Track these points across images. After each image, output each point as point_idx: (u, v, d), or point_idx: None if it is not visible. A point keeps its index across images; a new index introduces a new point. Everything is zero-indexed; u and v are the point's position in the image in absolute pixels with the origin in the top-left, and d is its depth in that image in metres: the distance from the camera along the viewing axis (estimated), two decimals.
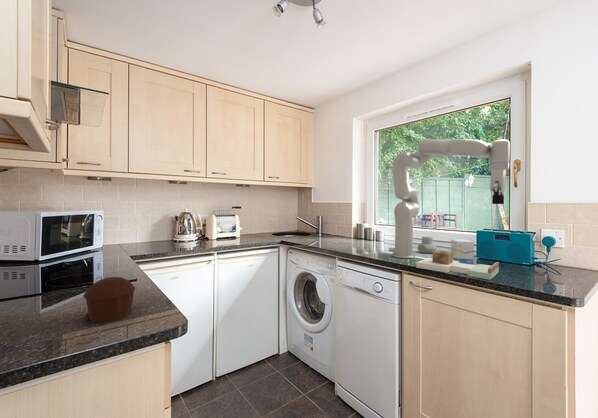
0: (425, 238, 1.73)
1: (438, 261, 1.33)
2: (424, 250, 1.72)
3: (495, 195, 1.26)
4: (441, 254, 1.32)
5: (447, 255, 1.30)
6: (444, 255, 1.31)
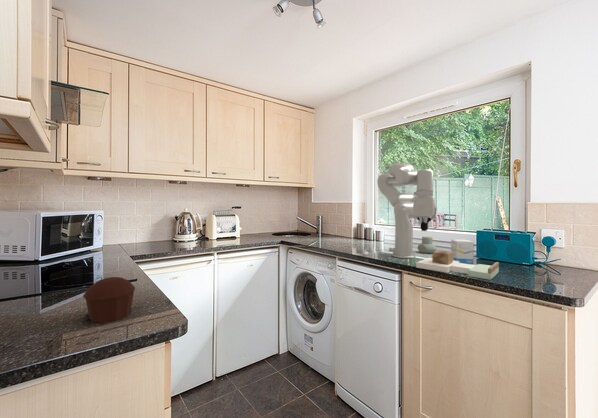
0: (425, 238, 1.73)
1: (438, 261, 1.33)
2: (424, 250, 1.72)
3: (427, 223, 1.39)
4: (441, 254, 1.32)
5: (447, 255, 1.30)
6: (444, 255, 1.31)
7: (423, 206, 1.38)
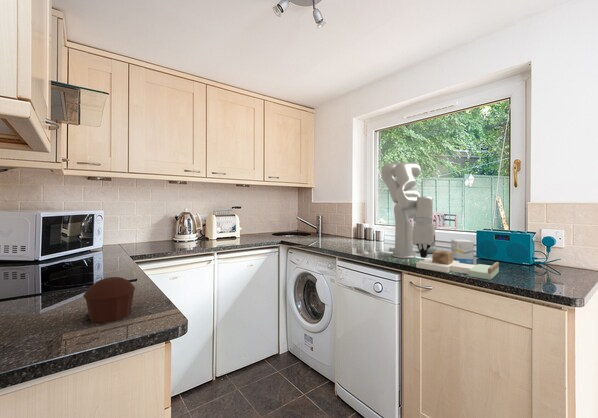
0: None
1: (438, 261, 1.33)
2: None
3: (426, 250, 1.39)
4: (441, 254, 1.32)
5: (447, 255, 1.30)
6: (444, 255, 1.31)
7: (422, 233, 1.38)
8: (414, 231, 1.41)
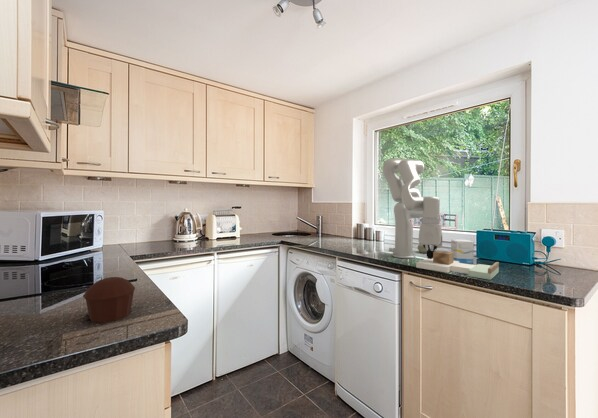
0: None
1: (439, 261, 1.32)
2: (424, 250, 1.72)
3: (433, 251, 1.37)
4: (442, 254, 1.32)
5: (448, 255, 1.30)
6: (445, 255, 1.31)
7: (429, 234, 1.36)
8: (421, 232, 1.39)
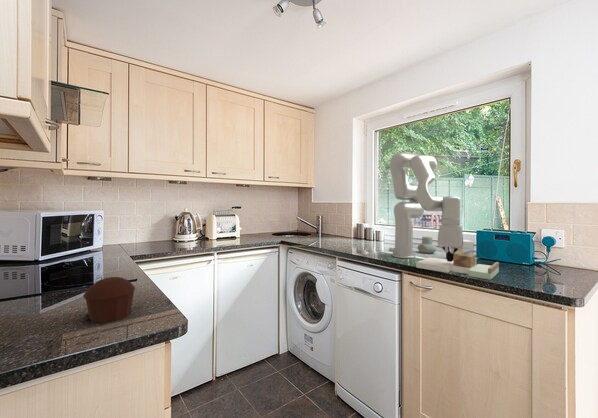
0: (425, 238, 1.73)
1: (460, 264, 1.26)
2: (424, 250, 1.72)
3: (453, 253, 1.31)
4: (463, 257, 1.25)
5: (469, 258, 1.23)
6: (466, 258, 1.24)
7: (449, 236, 1.30)
8: (440, 233, 1.33)
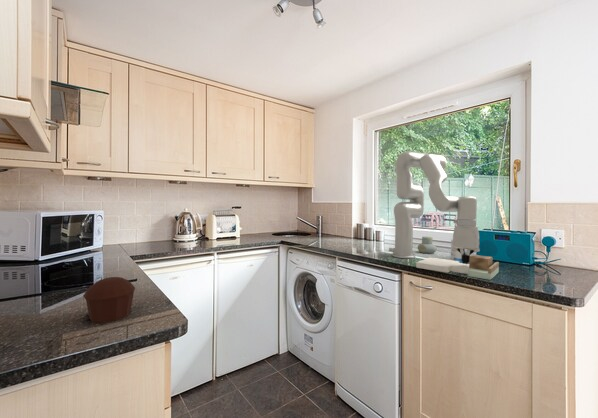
0: (425, 238, 1.73)
1: (476, 267, 1.22)
2: (424, 250, 1.72)
3: (469, 255, 1.26)
4: (480, 259, 1.21)
5: (487, 260, 1.19)
6: (483, 260, 1.20)
7: (465, 237, 1.25)
8: (455, 234, 1.28)
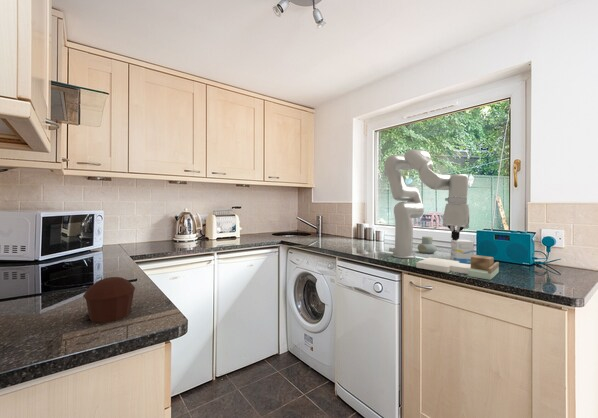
0: (425, 238, 1.73)
1: (477, 267, 1.21)
2: (424, 250, 1.72)
3: (459, 232, 1.30)
4: (481, 259, 1.20)
5: (488, 260, 1.18)
6: (484, 260, 1.19)
7: (456, 214, 1.28)
8: (446, 212, 1.31)
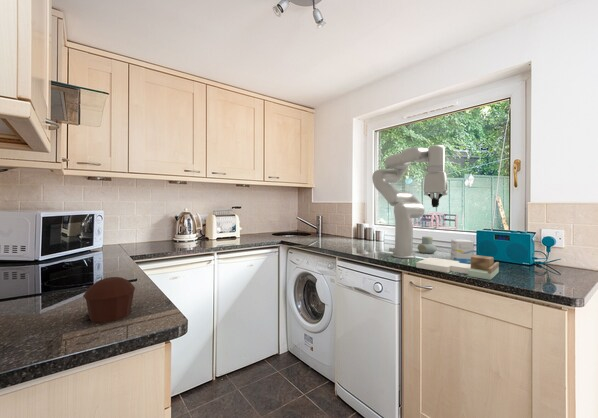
0: (425, 238, 1.73)
1: (477, 267, 1.21)
2: (424, 250, 1.72)
3: (438, 199, 1.39)
4: (481, 259, 1.20)
5: (488, 260, 1.18)
6: (484, 260, 1.19)
7: (434, 182, 1.38)
8: (426, 181, 1.41)
